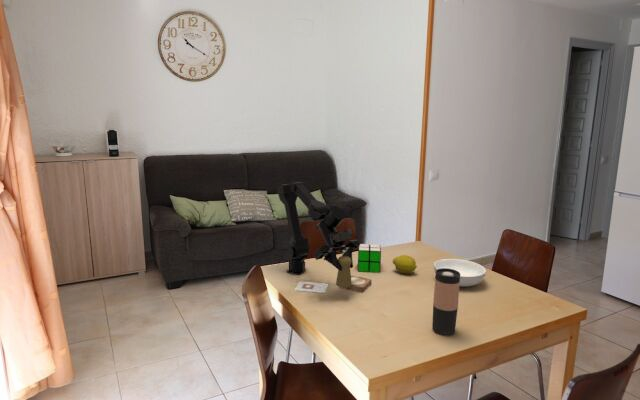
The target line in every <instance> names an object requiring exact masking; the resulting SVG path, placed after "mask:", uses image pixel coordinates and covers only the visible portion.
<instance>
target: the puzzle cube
mask: <svg viewBox="0 0 640 400" xmlns="http://www.w3.org/2000/svg"><path fill="white" fill-rule="evenodd" d="M381 246H382V245H381V244H369V243H368V244H367V243H360V246H359V247H358V248H357V249H358V251H357V272H359V273H360V272H361V273H362V272H363V273H378V274H379V273H381V266H382V265H381V260H382V247H381Z"/></svg>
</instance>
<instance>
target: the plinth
mask: <svg viewBox="0 0 640 400" xmlns="http://www.w3.org/2000/svg"><path fill="white" fill-rule="evenodd" d="M351 282H352V286H351V287H347V288H342V287H339V289H345V290H348V291H349V290H350V291H355V292H360V293H364V292H365V291H366V290H367V289H368V288H369V287H370V286H371V285H372V278H367V277H361V276H357V275H352V274H351Z"/></svg>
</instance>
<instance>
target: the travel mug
mask: <svg viewBox="0 0 640 400" xmlns="http://www.w3.org/2000/svg"><path fill="white" fill-rule="evenodd" d="M434 278H435V279H434V291H433V303H432V323H431V324H432V325H431V326H432V327H431V328H432V331H433V332H434V333H435V334H437V335H439V336H440V335H441V336H447V337H448V336H453V335H454V334H455V333H456V325H457V317H458V309H459V297H460V286H459V284H460V273H459V272H458V271H456V270H453V269H447V268H442V269H438V270H436V273H435V277H434Z"/></svg>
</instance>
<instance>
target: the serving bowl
mask: <svg viewBox="0 0 640 400" xmlns="http://www.w3.org/2000/svg"><path fill="white" fill-rule="evenodd" d="M442 268H447V269H453V270H456V271H458V272H459V273H460V284H459V287H473V286H476V285H478V284H480V283H481V282H482V281H483V280H484V279H485V277H486V273H487V270H486V268H485V267H484V266H483V265H481V264H479V263H477V262H474V261H471V260H467V259H461V258H460V259H459V258H444V259H443V258H442V259H439V260H436V261H435V262H434V263H433V270H434V273H435V274H436V270H438V269H442Z"/></svg>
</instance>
